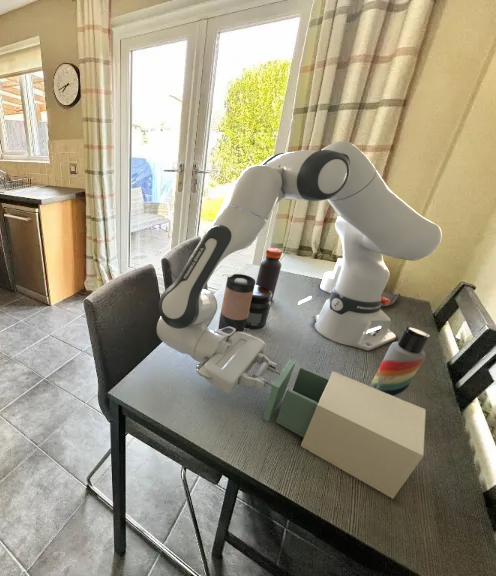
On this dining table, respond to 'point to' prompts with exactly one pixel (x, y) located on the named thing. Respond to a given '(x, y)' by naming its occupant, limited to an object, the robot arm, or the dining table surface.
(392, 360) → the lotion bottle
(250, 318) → the supplement container
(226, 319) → the travel mug
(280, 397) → the green pull-out drawer
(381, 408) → the matchbox drawer box
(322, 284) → the cylinder with rectangular tab
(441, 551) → the dining table surface
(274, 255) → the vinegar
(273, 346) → the dining table surface
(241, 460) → the dining table surface
